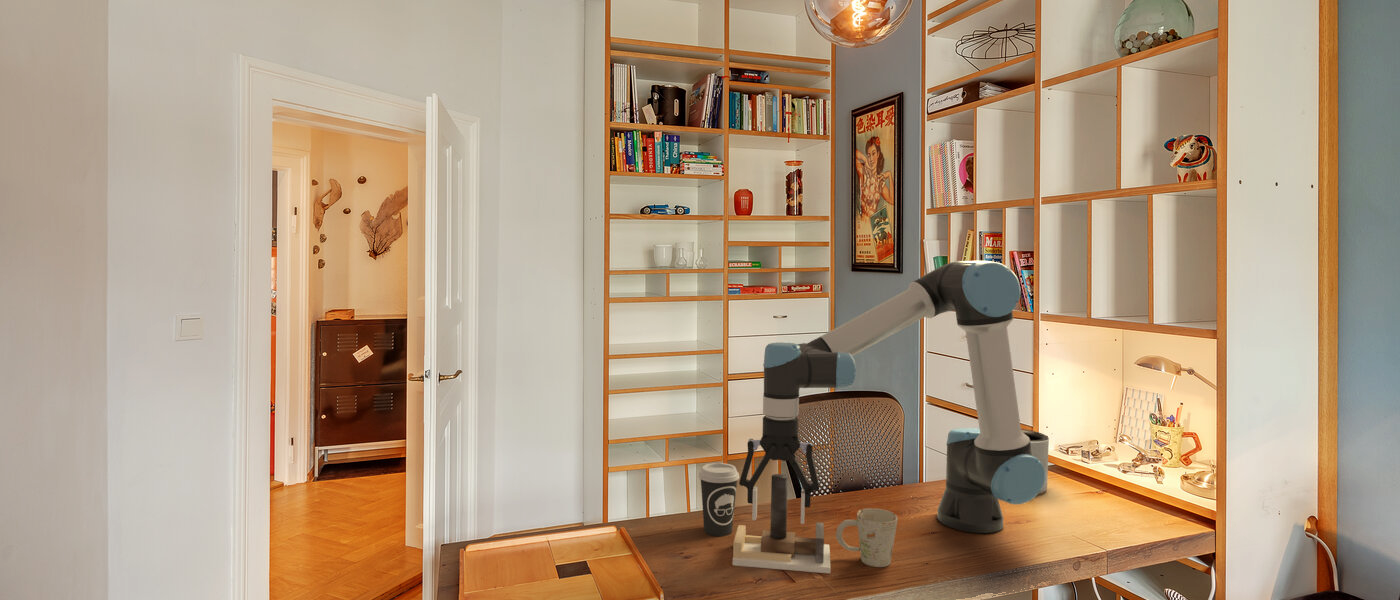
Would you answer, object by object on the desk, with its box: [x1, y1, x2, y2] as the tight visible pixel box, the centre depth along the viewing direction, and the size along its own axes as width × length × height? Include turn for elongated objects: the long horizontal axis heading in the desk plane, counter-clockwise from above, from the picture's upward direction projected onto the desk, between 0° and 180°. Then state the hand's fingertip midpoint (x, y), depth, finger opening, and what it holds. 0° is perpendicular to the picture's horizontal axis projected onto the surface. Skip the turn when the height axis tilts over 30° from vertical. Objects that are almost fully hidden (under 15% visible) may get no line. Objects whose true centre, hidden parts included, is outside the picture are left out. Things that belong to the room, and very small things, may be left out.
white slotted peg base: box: [732, 524, 832, 574], centre depth 150 cm, size 20×12×4 cm, turn 81°
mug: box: [835, 507, 898, 568], centre depth 149 cm, size 8×13×10 cm, turn 78°
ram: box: [761, 473, 825, 563], centre depth 149 cm, size 13×9×16 cm
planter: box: [1021, 428, 1050, 495], centre depth 199 cm, size 16×16×16 cm
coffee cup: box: [698, 462, 741, 537], centre depth 164 cm, size 10×10×15 cm
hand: (778, 519), depth 150 cm, fingers open, 9 cm apart
